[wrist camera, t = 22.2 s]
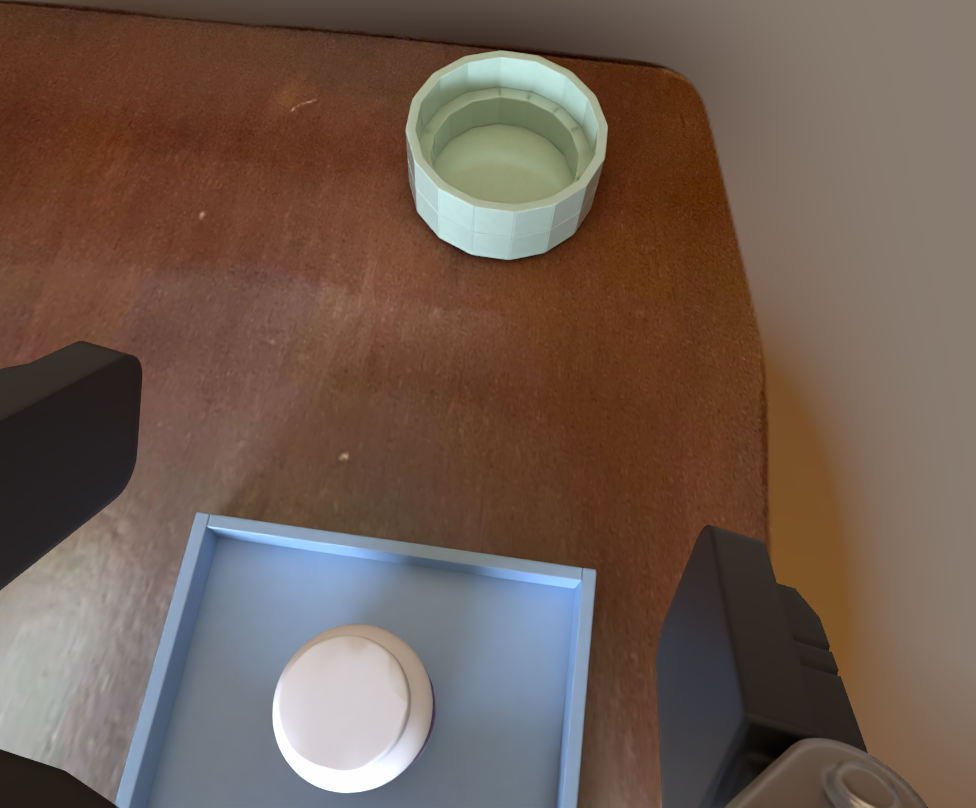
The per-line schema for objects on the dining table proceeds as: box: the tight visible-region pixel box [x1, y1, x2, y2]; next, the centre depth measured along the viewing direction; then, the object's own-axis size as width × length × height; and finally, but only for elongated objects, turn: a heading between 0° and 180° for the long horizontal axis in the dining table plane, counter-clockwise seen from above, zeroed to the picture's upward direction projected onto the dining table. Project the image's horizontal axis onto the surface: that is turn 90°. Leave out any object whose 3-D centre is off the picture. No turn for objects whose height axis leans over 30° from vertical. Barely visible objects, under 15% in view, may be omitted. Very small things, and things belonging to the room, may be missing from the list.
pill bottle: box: [272, 624, 436, 793], centre depth 29 cm, size 5×5×10 cm
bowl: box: [406, 50, 608, 260], centre depth 42 cm, size 10×10×4 cm
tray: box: [115, 512, 597, 808], centre depth 33 cm, size 17×13×2 cm
